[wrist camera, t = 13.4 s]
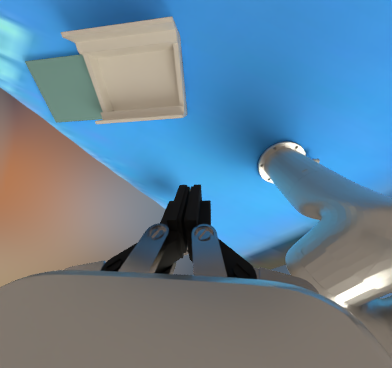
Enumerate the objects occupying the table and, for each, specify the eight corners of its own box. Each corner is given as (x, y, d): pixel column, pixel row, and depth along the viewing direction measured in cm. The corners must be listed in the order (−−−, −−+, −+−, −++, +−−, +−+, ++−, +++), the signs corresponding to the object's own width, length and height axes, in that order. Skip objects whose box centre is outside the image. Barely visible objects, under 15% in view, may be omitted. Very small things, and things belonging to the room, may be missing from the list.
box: (180, 35, 30) (172, 16, 23) (187, 114, 37) (182, 117, 31) (91, 47, 32) (60, 32, 25) (115, 120, 39) (96, 124, 32)
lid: (95, 56, 33) (89, 53, 31) (115, 117, 39) (110, 118, 38) (33, 63, 35) (24, 61, 33) (62, 121, 41) (56, 122, 39)
